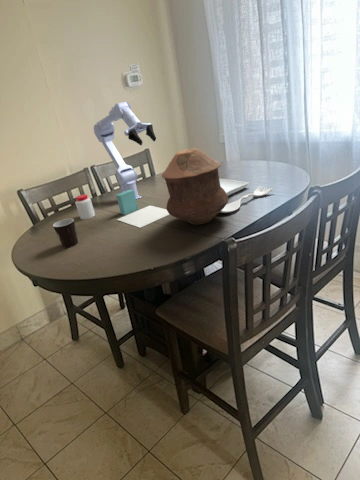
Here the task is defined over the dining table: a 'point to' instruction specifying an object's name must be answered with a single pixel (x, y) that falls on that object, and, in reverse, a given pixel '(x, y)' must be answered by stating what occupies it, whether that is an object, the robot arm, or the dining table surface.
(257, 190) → the spoon
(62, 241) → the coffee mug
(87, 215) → the pill bottle
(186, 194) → the pottery vessel
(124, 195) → the teal slab
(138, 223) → the mat
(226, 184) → the square plate
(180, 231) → the dining table surface
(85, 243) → the dining table surface
